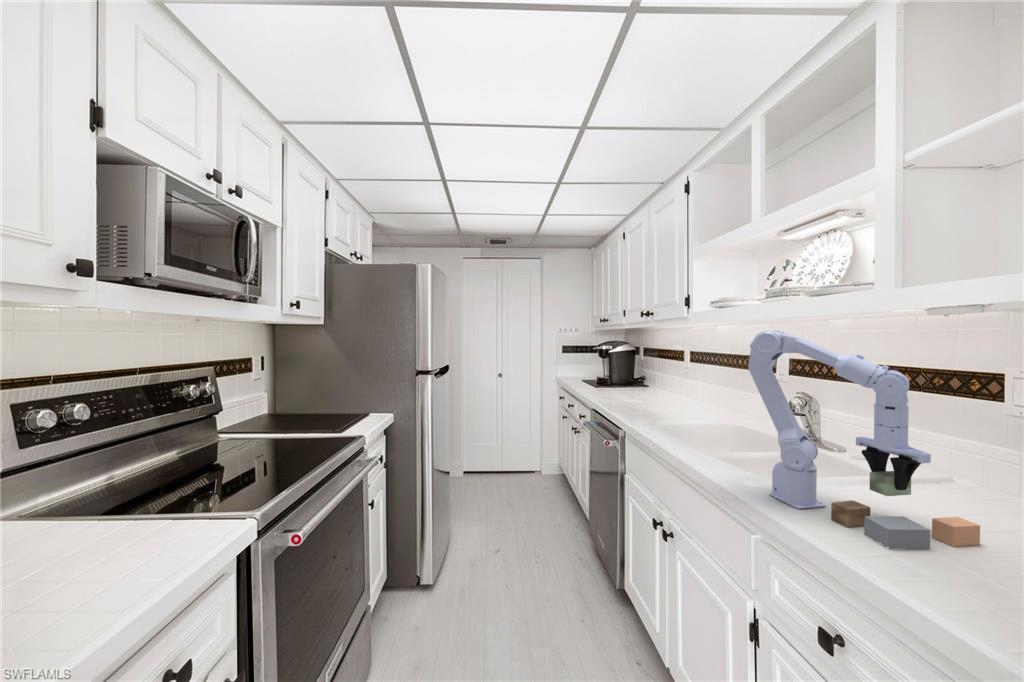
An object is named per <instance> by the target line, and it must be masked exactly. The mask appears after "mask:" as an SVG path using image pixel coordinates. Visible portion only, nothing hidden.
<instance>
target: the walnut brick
mask: <svg viewBox="0 0 1024 682" xmlns="http://www.w3.org/2000/svg"><path fill="white" fill-rule="evenodd" d="M830 504H831V507H830V509H831V510H830V516H831V517H830V520H831V521H832V522H835V523H837V524H839V523H840V525H841V524H842V525H841V526H843V525H844V527H846V528H849V527H850V528H857V527H858V528H859V527H865V516H871V507H870V506H869V505H866V504H863V503H860V502H858V501H856V500H853V499H852V500H842V501H841V500H840V501H835V502H834V501H833V502H831V503H830Z"/></svg>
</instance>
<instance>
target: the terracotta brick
mask: <svg viewBox="0 0 1024 682" xmlns="http://www.w3.org/2000/svg"><path fill="white" fill-rule="evenodd" d="M931 538H933V539H935V540H936V541H939V542H942V543H944V544H946V545H949V546H951V547H953V548H955V547H956V546H959V547H970V546H969V545H972V546H980V544H981V543H980V542H981V524H977V523H974V522H972V521H970V520H967V519H964V518H962V517H959V516H949V517H948V516H947V517H934V518H932V519H931Z"/></svg>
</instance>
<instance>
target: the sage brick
mask: <svg viewBox="0 0 1024 682" xmlns="http://www.w3.org/2000/svg"><path fill="white" fill-rule="evenodd" d="M869 490H870V491H873V492H875V493H877V494H880V495H883V496H885V497H897V496H898V497H899V496H910V495H912V477H911V478H910V481H909V483H908V486H907V489H906V490H897V489H896V488H895V476H894V470H886V471H881V472H871V471H870V472H869Z"/></svg>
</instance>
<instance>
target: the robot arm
mask: <svg viewBox="0 0 1024 682" xmlns="http://www.w3.org/2000/svg"><path fill="white" fill-rule="evenodd" d="M749 348H750V353H749V359H748V367H747V368H748V370H749V373H750V375H751V378H752V379H753V382H754V384H755V386H756V388H757V391H758V393H759V395H760V397H761V400H762V401H763V404H764V406H765V408H766V410H767V413H768V414H769V417H770V418H771V420H772V423H773V426H774V428H775V431H776V432H777V442H778V444H779V445H778V446H779V448H780V459H781V461H779V462H777V463H775V464H774V466H773V468H772V471H771V472H772V473H771V474H772V476H771V478H772V479H771V483H772V484H771V485H772V486H771V491H772V492H769V495H770V496H771V497H773V498H775V499H777V500H779V501H782V502H784V503H785V504H787V505H789V506H791V507H793V508H795V509H798V510H800V509H801V510H803V509H812V508H824V507H826V504H825V503H823V502H821V501H819V500H817V488H818V487H817V477H818V475H817V466H816V464H815V462H814V460H815V459H816V458H817V456H818V454H819V453H818V452H819V451H818V447H817V445H816V444H815V442H814V441H813V440H811V439H810V438H809V437H808V435H807V433H806V432H805V430H803V429H802V427H801V426H800V425H799V423H798V420H797V419H796V416H795V413H793V410H792V408H791V406H790V404H789V402H788V399H787V398H786V395H785V393H784V391H783V389H782V386H781V385H780V383H779V381H778V378H777V376H776V375H775V372H774V371H773V368H774V366H775V365H776V364H775V363H776V362H777V361H778V359H779V357H780V356H782V355H783V354H800V355H803V356H805V357H807V358H808V359H809V358H810V359H812V360H814V361H817V362H819V363H822V364H824V365H827V366H829V367H832V368H834V370H835V372H836V374H837V376H838V377H841V378H843V379H846V380H847V381H850V382H853V383H855V384H857V385H859V386H861V387H863V388H865V389H872V390H873V392H874V393H875V402H874V405H873V406H874V407H873V409H874V410H873V411H874V412H873V413H874V414H873V438H870V437H866V436H855V445H856V446H858V447H864V448H865V449H861V454H862V456H863V457H864V458H865V460H866V462H867V464H868V466H869V468H870V472H881V471H887V465H888V460H890V463H891V466H892V469H893V471H894V476H895V488H896V489H897V490H906V489H907V486H908V483H909V481H910V478H911V479H912V476H913V474H915V471H917V469H918V467H920V466H921V464H931V461H932V460H931V459H932V457H931V455H932V454H931V453H929V452H925V451H922V450H921V449H920V450H919V449H916V448H914V447H911V446H910V444H909V405H908V404H909V403H908V402H909V397H908V392H909V391H910V390H909V389H910V381H909V379H908V377H907V376H906V375H905V374H903V373H901V372H900V371H898V370H896V369H889V366H887V365H885V364H884V365H879V364H877V363H875V362H872V361H870V360H868V359H865V356H864V355H862V354H859V353H858V354H856V355H855V354H852V353H849V354H845V355H840V354H838V353H836V352H834V351H831V350H829V349H827V348H824V347H823V346H820V345H819V344H816V343H814V342H812V341H810V340H808V339H805V338H802V337H800V336H797V335H794V334H790V333H785V332H784V331H781V330H764V331H760V332H758V334H756V335H755V336H754V338H753V339H752V341H751V343H750V344H749ZM890 454H891V455H893V456H894V457H890ZM895 456H896V457H895Z"/></svg>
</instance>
